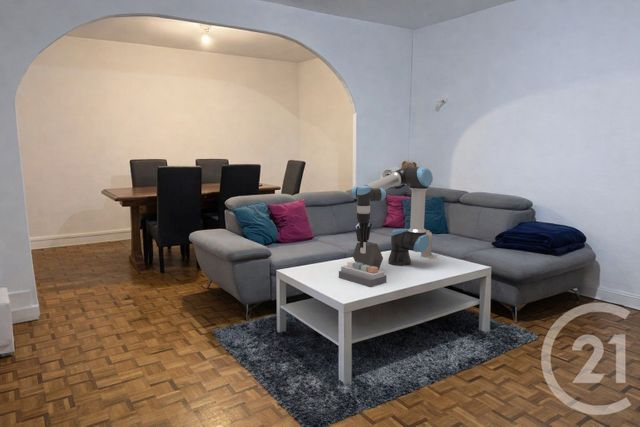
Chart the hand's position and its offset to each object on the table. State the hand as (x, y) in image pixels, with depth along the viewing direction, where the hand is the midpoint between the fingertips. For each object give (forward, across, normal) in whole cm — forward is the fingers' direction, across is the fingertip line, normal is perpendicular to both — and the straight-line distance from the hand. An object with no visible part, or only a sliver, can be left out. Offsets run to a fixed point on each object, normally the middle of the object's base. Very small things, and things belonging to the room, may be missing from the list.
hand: (362, 252), depth 262 cm
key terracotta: (+10, 0, +8) cm, 13 cm away
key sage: (+10, 0, +3) cm, 11 cm away
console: (+16, 0, 0) cm, 16 cm away
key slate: (+10, 0, -3) cm, 10 cm away
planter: (+17, -18, -12) cm, 27 cm away
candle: (+17, -78, -4) cm, 80 cm away
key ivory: (+10, 0, -8) cm, 13 cm away
